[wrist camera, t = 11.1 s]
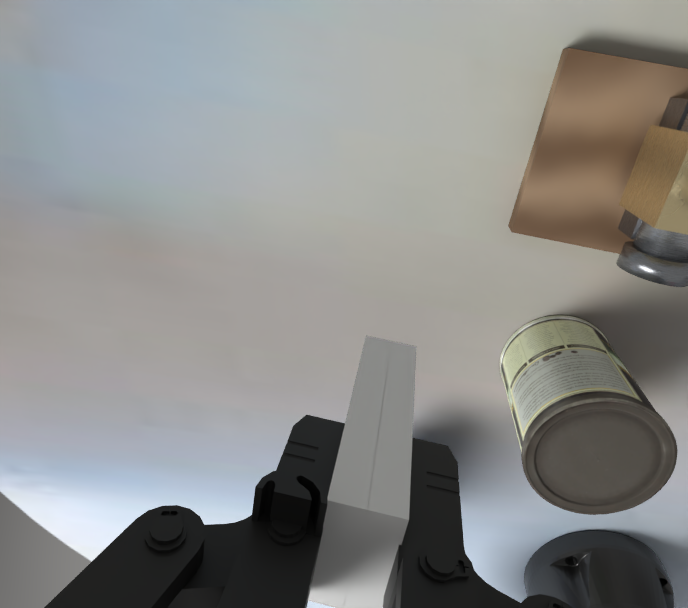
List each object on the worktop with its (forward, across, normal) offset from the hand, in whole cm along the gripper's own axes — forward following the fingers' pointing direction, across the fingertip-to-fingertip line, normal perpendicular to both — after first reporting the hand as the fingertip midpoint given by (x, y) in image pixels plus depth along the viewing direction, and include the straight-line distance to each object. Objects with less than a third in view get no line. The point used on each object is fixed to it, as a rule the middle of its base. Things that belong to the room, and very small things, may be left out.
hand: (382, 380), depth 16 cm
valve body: (+30, +19, +5) cm, 36 cm away
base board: (+32, +19, +5) cm, 38 cm away
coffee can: (+33, +17, -14) cm, 39 cm away
